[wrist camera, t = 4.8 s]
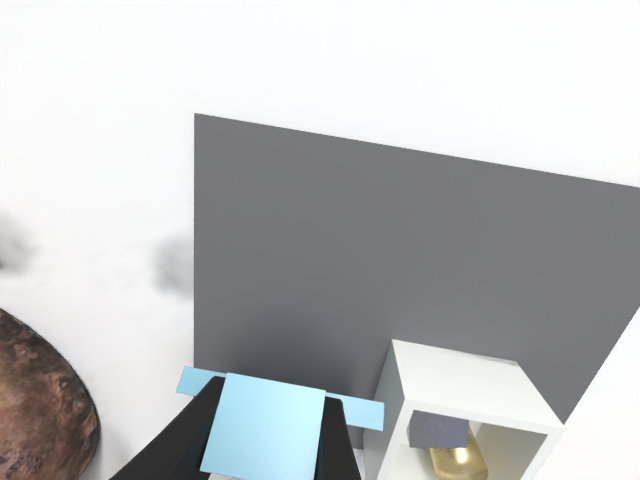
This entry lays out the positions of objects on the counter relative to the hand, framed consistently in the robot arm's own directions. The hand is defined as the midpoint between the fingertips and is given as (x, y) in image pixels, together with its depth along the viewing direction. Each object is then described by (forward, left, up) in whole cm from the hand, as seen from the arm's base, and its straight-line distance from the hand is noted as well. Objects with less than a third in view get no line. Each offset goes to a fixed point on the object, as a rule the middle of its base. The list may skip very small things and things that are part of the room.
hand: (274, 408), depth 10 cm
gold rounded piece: (-9, -11, -8) cm, 16 cm away
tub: (-7, -10, -9) cm, 15 cm away
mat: (-2, -6, -9) cm, 11 cm away
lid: (-3, 0, -4) cm, 5 cm away
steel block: (-6, -9, -8) cm, 13 cm away
